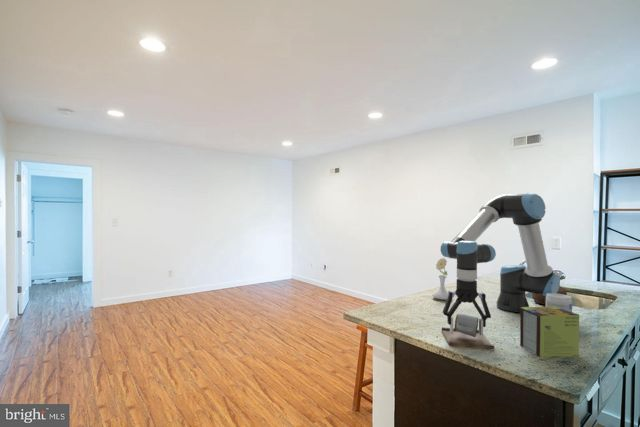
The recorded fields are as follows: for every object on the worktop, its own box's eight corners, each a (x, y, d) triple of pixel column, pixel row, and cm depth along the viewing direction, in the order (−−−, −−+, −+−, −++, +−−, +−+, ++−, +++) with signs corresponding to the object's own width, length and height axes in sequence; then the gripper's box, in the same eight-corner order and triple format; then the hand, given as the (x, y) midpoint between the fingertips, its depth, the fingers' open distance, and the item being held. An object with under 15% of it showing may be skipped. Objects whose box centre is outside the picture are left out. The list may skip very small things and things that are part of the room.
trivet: (481, 334, 134) (481, 330, 134) (494, 351, 119) (494, 345, 119) (441, 331, 137) (441, 327, 137) (449, 347, 122) (449, 342, 122)
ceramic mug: (454, 331, 132) (458, 313, 135) (475, 338, 128) (479, 320, 130) (452, 327, 124) (456, 308, 126) (474, 334, 119) (478, 314, 122)
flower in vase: (430, 295, 196) (430, 255, 196) (449, 296, 194) (449, 256, 194) (435, 301, 183) (435, 258, 183) (455, 302, 181) (456, 259, 181)
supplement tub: (575, 333, 137) (576, 299, 137) (550, 330, 140) (550, 297, 139) (566, 325, 146) (566, 293, 146) (542, 322, 149) (542, 292, 149)
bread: (527, 302, 183) (527, 288, 183) (540, 291, 208) (540, 278, 208) (560, 308, 172) (561, 293, 172) (570, 296, 197) (570, 282, 197)
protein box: (579, 357, 114) (580, 314, 114) (539, 358, 113) (540, 315, 113) (555, 344, 125) (556, 305, 124) (519, 346, 123) (519, 306, 123)
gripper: (494, 278, 129) (493, 332, 129) (435, 276, 134) (435, 327, 134) (500, 282, 122) (500, 339, 122) (438, 279, 126) (438, 334, 127)
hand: (466, 333), depth 128 cm, fingers closed on ceramic mug, 10 cm apart
